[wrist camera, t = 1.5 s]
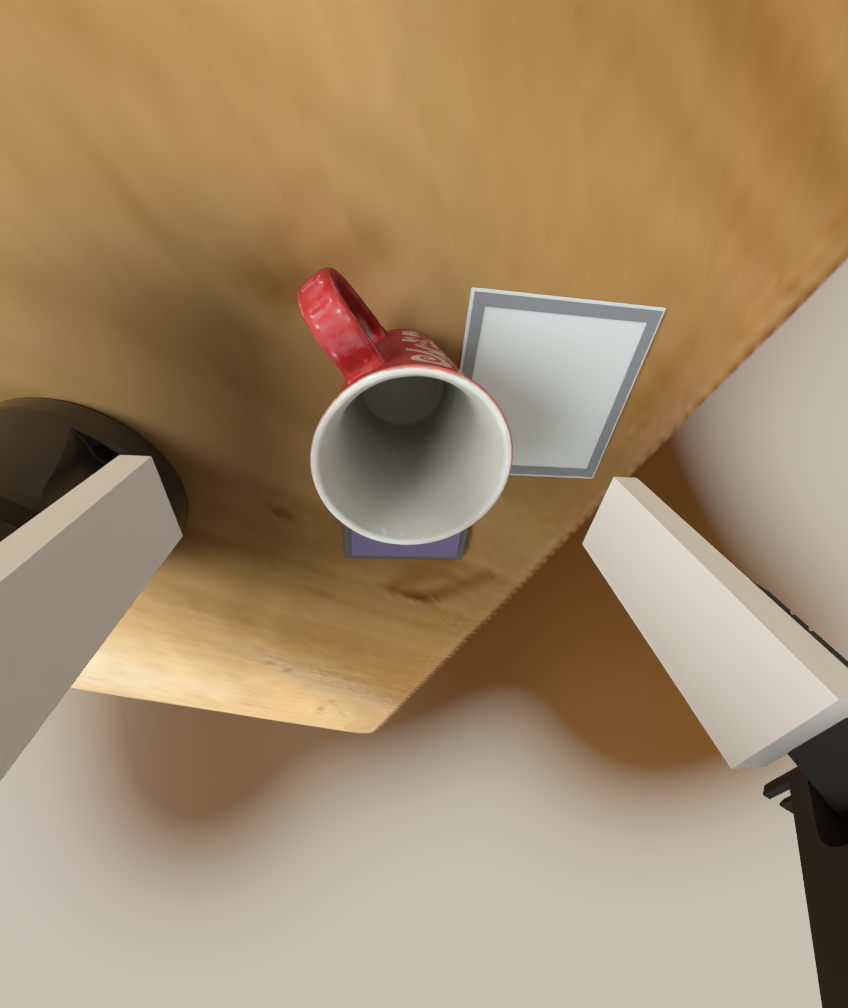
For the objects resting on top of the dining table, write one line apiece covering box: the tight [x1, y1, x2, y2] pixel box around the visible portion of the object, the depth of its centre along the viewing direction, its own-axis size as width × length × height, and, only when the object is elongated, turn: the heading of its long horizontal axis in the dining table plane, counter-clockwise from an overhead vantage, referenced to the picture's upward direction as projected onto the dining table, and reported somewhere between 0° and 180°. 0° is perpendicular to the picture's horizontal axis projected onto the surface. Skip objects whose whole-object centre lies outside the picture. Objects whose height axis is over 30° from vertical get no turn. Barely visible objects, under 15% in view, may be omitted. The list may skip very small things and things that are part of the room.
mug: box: [297, 268, 513, 545], centre depth 20 cm, size 13×9×14 cm
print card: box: [459, 287, 666, 479], centre depth 28 cm, size 14×14×1 cm
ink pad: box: [343, 524, 469, 560], centre depth 33 cm, size 12×12×1 cm
